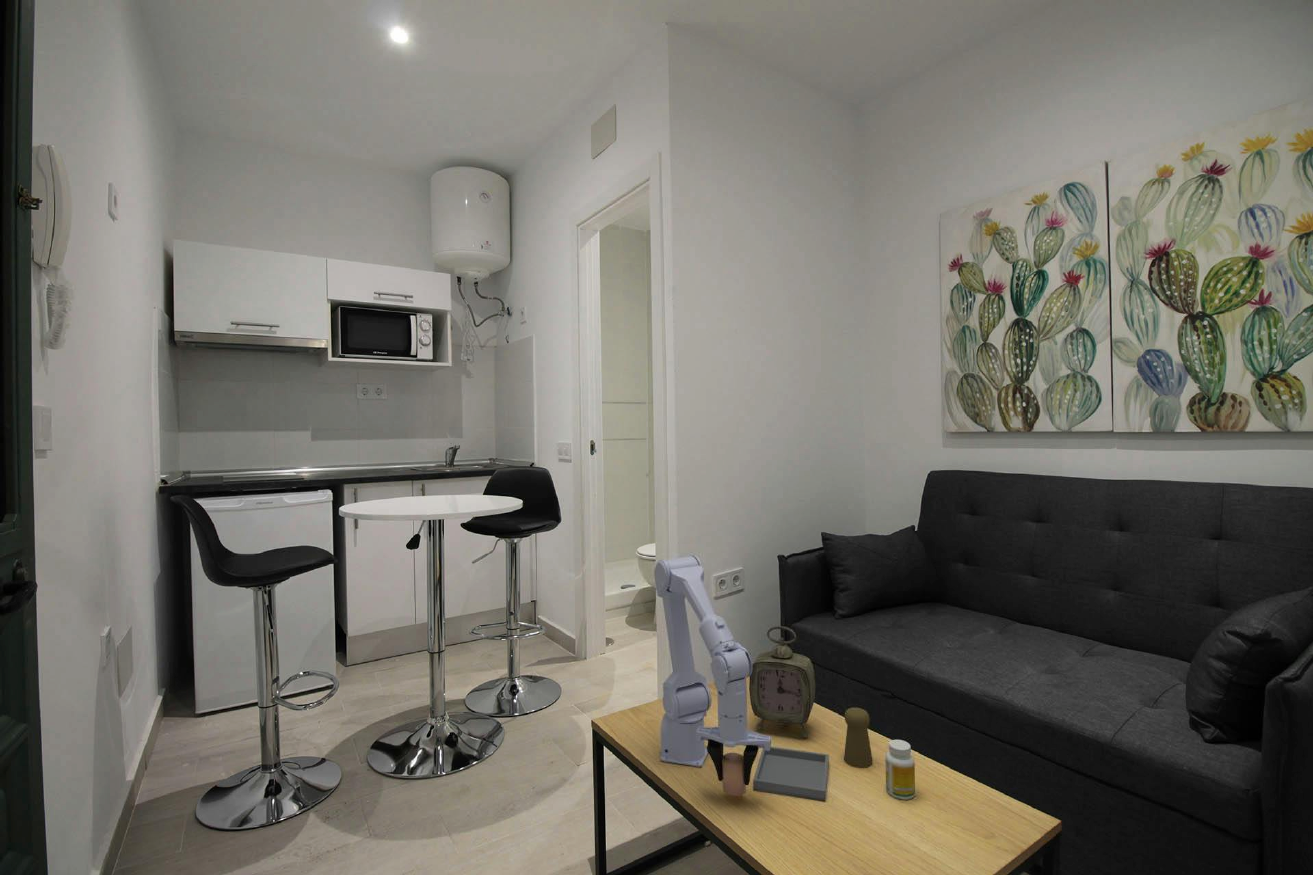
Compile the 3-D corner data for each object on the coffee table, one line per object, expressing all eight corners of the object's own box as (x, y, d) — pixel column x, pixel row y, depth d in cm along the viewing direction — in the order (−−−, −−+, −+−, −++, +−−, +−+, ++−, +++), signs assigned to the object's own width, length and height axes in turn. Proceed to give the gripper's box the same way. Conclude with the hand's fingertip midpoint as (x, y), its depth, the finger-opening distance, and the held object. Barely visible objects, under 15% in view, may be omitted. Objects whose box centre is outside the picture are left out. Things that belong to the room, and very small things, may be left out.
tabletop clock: (750, 732, 146) (747, 628, 146) (758, 716, 154) (756, 617, 154) (811, 742, 140) (809, 634, 140) (817, 725, 149) (814, 623, 149)
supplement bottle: (880, 789, 122) (879, 741, 122) (899, 781, 124) (898, 734, 124) (901, 803, 117) (900, 753, 117) (921, 795, 119) (920, 746, 119)
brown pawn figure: (874, 769, 129) (873, 717, 129) (845, 766, 130) (843, 715, 130) (870, 754, 135) (869, 704, 135) (842, 752, 136) (841, 703, 136)
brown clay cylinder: (720, 793, 118) (719, 763, 118) (725, 780, 123) (724, 751, 123) (743, 797, 117) (743, 766, 117) (748, 784, 121) (747, 754, 121)
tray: (753, 789, 123) (753, 779, 123) (763, 754, 136) (763, 745, 136) (825, 801, 118) (825, 791, 118) (828, 763, 132) (828, 754, 131)
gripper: (691, 716, 118) (693, 785, 118) (766, 725, 114) (768, 797, 114) (700, 700, 125) (702, 766, 125) (771, 708, 120) (773, 777, 120)
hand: (734, 780), depth 120 cm, fingers closed on brown clay cylinder, 5 cm apart
